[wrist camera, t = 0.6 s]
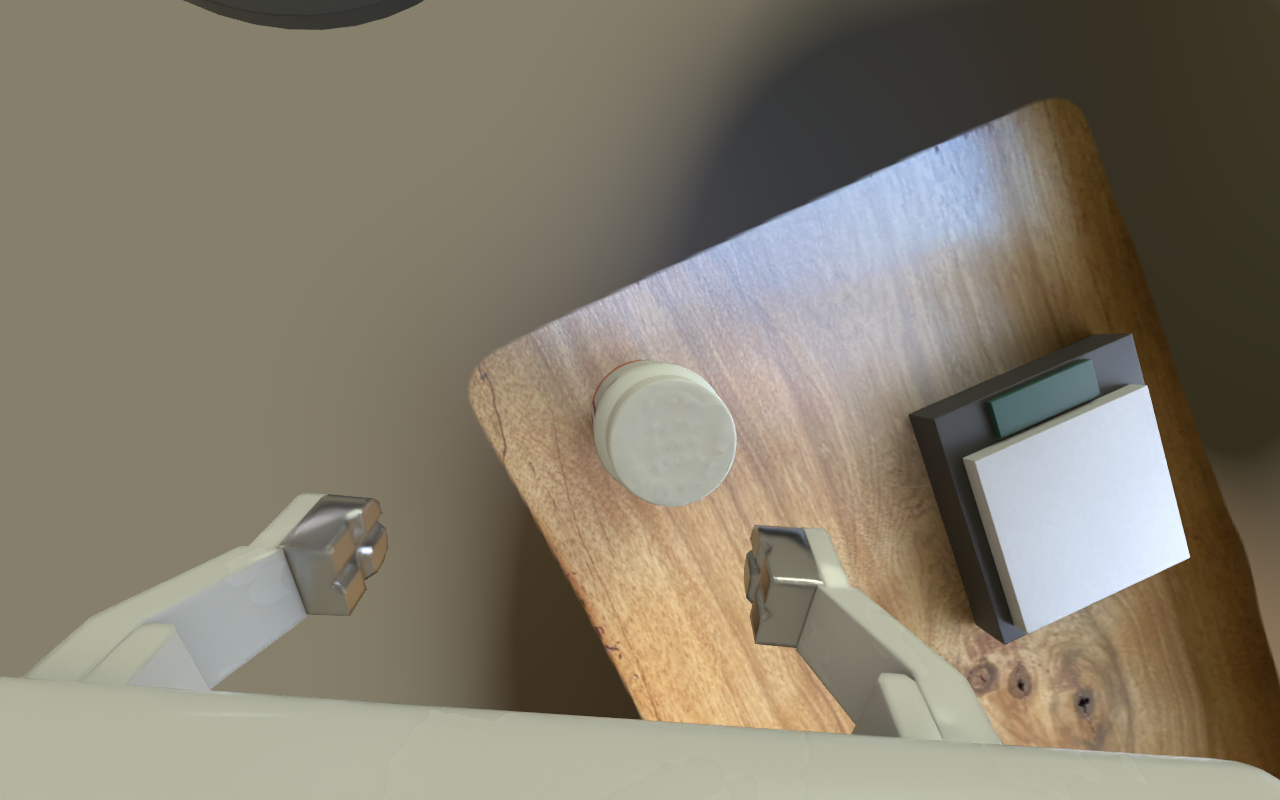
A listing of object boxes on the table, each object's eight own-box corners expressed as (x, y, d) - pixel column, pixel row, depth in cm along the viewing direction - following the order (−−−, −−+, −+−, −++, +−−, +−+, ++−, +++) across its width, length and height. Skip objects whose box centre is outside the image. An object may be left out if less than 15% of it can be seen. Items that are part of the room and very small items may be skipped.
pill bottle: (681, 465, 31) (735, 531, 20) (582, 451, 31) (583, 511, 20) (698, 367, 31) (765, 380, 20) (599, 350, 30) (609, 353, 19)
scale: (908, 414, 33) (945, 421, 30) (1093, 334, 34) (1150, 332, 30) (976, 625, 35) (1017, 654, 32) (1148, 544, 36) (1207, 565, 33)
